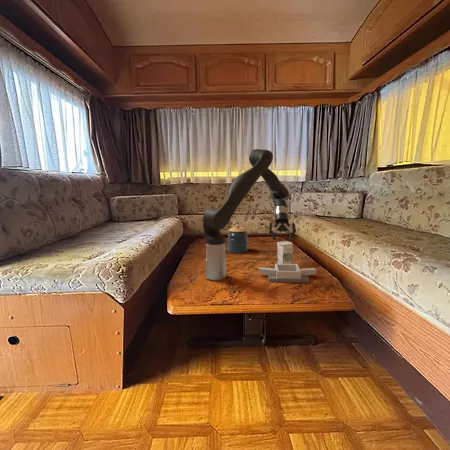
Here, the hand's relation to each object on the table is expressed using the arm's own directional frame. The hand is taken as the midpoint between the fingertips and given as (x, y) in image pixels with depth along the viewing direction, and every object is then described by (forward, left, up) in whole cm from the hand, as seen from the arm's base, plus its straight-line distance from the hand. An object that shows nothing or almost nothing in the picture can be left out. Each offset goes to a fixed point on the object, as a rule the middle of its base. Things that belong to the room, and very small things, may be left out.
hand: (283, 239), depth 150 cm
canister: (-26, +28, -14) cm, 41 cm away
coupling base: (0, -19, -14) cm, 24 cm away
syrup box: (0, -7, -14) cm, 16 cm away
